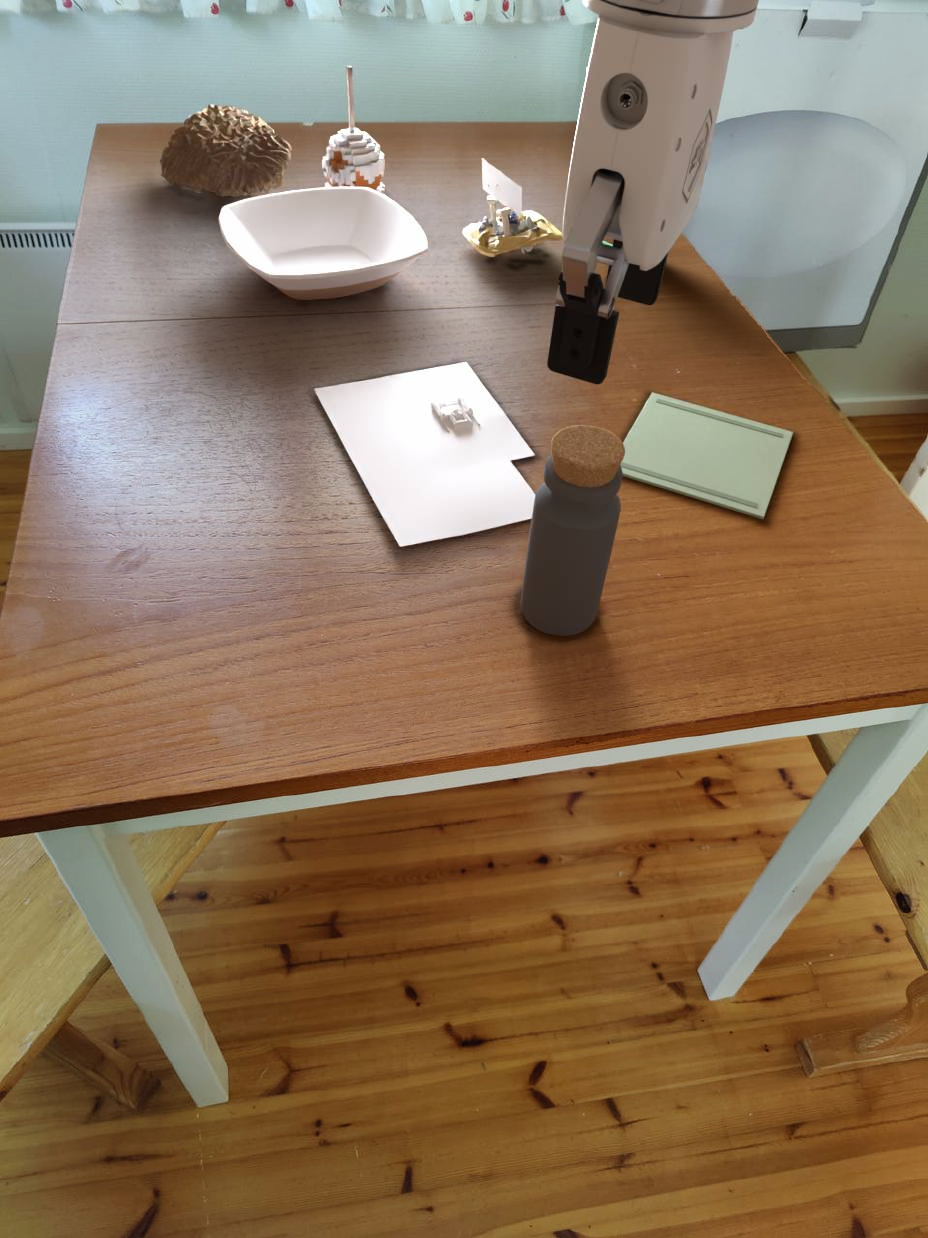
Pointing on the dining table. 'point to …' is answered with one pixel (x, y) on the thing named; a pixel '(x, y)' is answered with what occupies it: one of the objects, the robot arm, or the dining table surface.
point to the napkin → (705, 454)
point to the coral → (225, 153)
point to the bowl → (323, 240)
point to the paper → (432, 451)
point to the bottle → (572, 530)
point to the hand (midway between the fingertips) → (604, 334)
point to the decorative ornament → (353, 154)
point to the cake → (507, 219)
